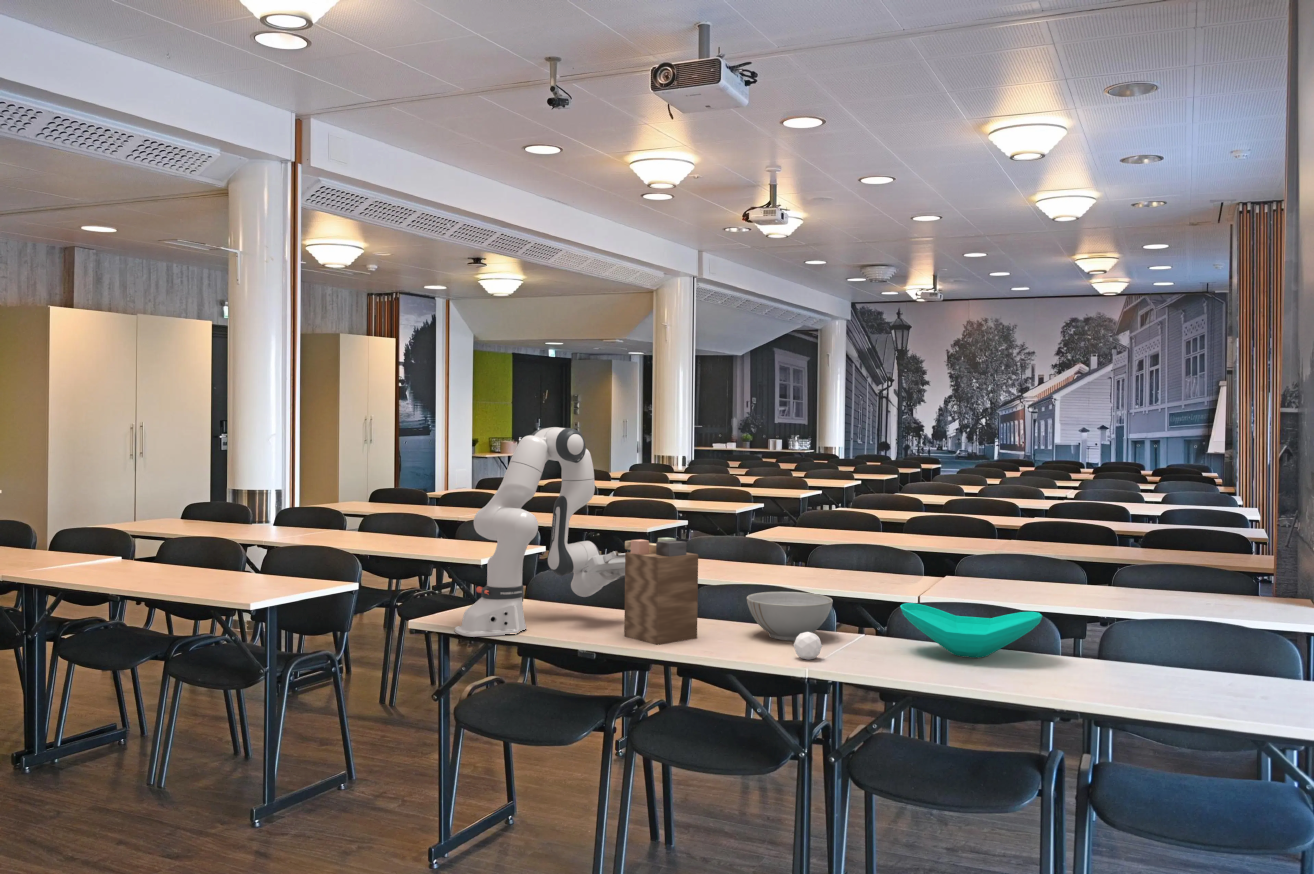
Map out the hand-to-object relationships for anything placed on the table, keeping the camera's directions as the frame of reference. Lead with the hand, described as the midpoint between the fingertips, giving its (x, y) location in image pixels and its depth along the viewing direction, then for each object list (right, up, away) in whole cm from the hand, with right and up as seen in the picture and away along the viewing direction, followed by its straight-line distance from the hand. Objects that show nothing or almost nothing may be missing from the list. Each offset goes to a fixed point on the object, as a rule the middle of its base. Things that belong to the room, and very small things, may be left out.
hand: (627, 552), depth 338 cm
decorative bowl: (+51, -26, -9) cm, 58 cm away
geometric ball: (+52, -26, -41) cm, 71 cm away
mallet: (+8, +1, -9) cm, 12 cm away
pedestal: (+10, -25, -13) cm, 30 cm away
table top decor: (+100, -27, -33) cm, 109 cm away
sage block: (+12, +1, -6) cm, 14 cm away
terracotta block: (+4, +1, -13) cm, 14 cm away
